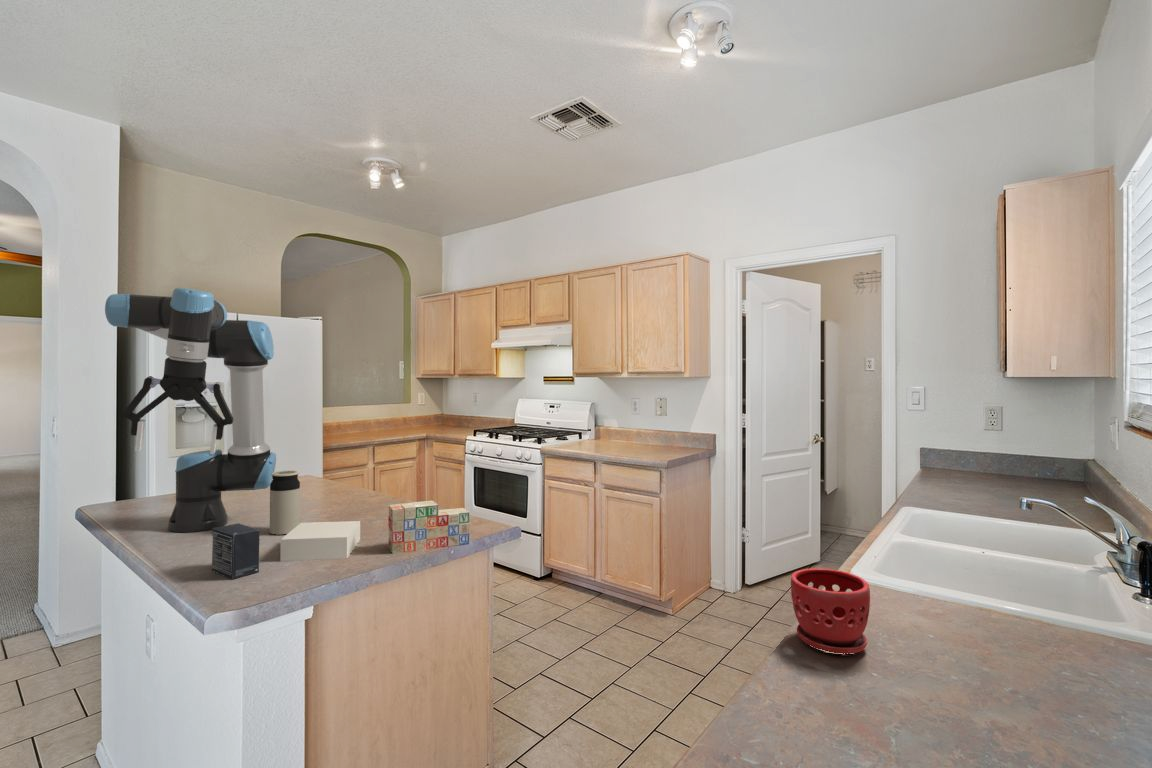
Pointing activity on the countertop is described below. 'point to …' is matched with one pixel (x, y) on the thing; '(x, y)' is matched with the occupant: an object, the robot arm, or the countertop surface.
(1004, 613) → the countertop surface
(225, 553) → the small box
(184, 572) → the countertop surface
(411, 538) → the stack of blocks
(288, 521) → the travel mug
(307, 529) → the cream block
